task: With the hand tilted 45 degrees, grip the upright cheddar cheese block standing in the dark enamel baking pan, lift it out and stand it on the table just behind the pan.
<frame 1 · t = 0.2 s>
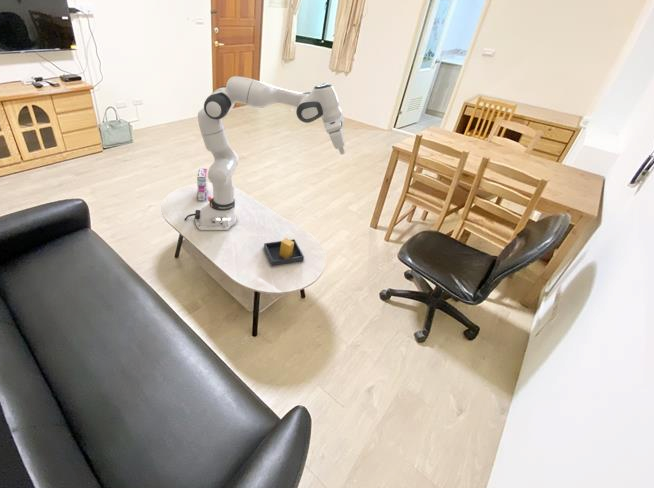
hand: (342, 149, 150), 54 cm above the table, tool tilted 30°, fingers open, 8 cm apart
candy bar box: (202, 196, 204), on the table
cheese: (285, 255, 166), resting on pan
pan: (283, 255, 167), on the table
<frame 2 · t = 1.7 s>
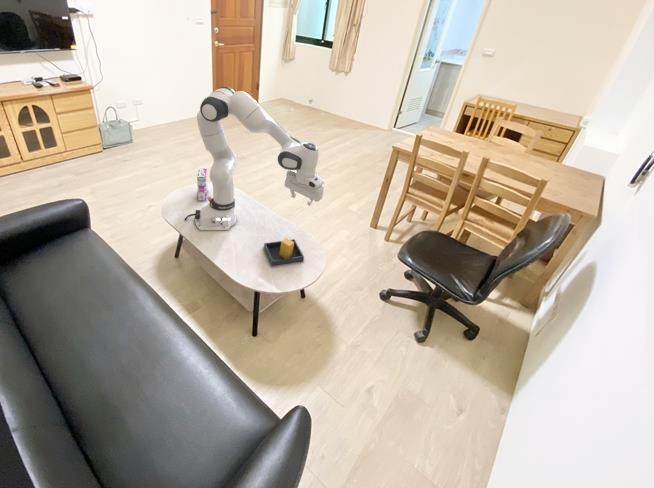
hand: (301, 201, 163), 25 cm above the table, tool pointing down, fingers open, 8 cm apart
nothing on the table moved.
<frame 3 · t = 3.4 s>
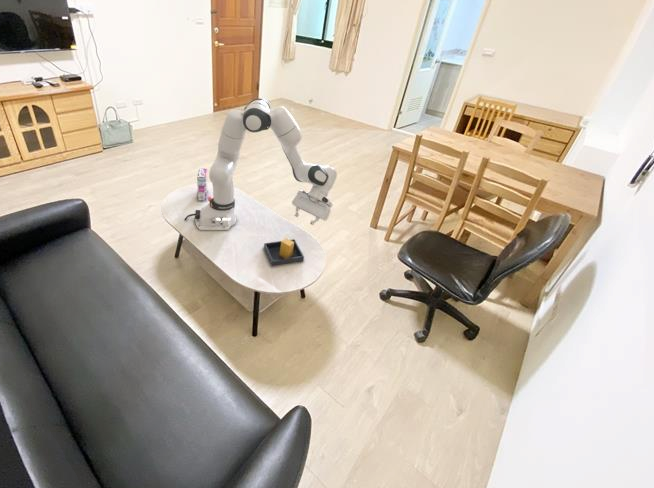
hand: (303, 220, 166), 16 cm above the table, tool tilted 45°, fingers open, 8 cm apart
nothing on the table moved.
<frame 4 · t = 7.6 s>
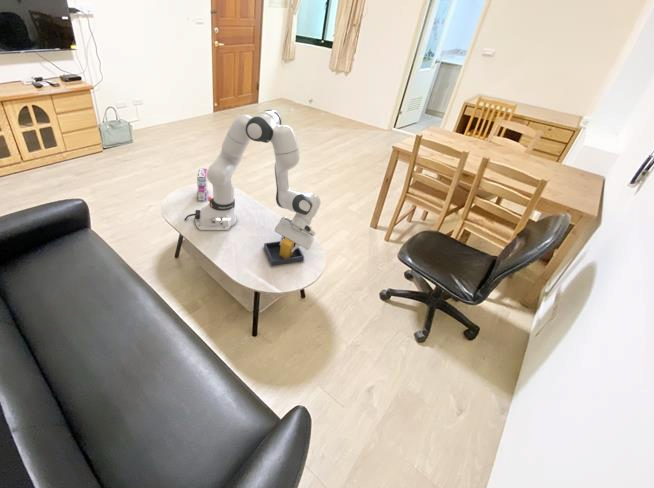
hand: (286, 248, 163), 5 cm above the table, tool tilted 45°, fingers closed on cheese, 5 cm apart
cheese: (285, 255, 166), point 1 cm above the table, touching gripper, pan
everything else where it was.
when the fingers open (5 cm above the table, at t = 15.6 s): cheese stays where it is, on the table.
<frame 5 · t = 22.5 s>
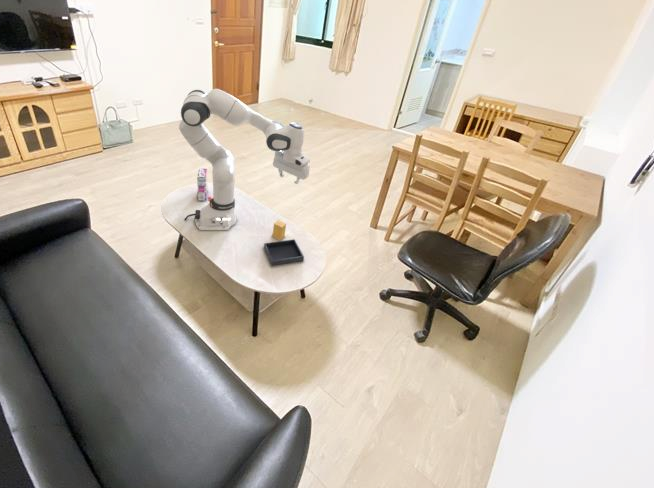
hand: (288, 180, 171), 29 cm above the table, tool pointing down, fingers open, 8 cm apart
cheese: (278, 236, 178), on the table
everything else where it was.
at the end: cheese inside the target area (0.1 cm from its centre), on the table; cheese touching table; cheese tilted 0° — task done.
